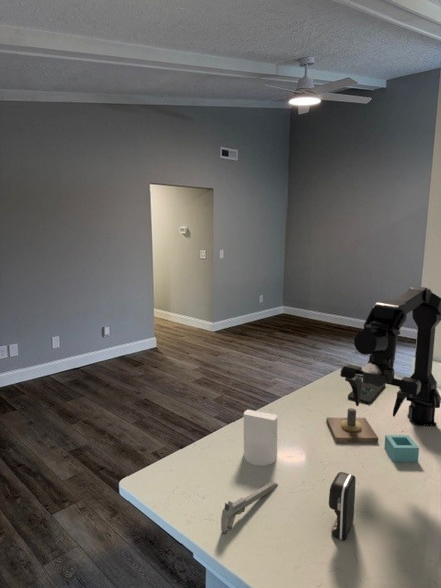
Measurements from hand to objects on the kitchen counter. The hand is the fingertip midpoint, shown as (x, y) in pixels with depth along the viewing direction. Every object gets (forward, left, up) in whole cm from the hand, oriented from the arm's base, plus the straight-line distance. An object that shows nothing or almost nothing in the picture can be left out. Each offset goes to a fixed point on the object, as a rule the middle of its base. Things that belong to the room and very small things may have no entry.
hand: (375, 410), depth 104 cm
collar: (-8, -3, -14) cm, 17 cm away
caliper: (+33, +18, -14) cm, 40 cm away
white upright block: (+30, -2, -14) cm, 33 cm away
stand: (+2, -15, -14) cm, 20 cm away
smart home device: (-12, -44, -15) cm, 48 cm away
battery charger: (+15, +24, -14) cm, 32 cm away
